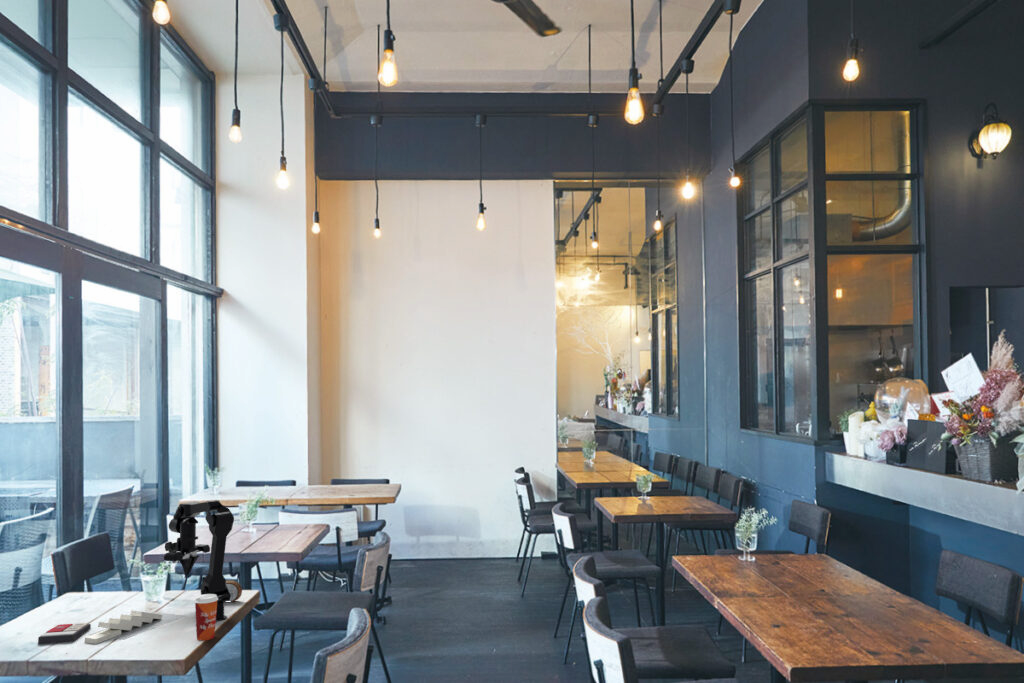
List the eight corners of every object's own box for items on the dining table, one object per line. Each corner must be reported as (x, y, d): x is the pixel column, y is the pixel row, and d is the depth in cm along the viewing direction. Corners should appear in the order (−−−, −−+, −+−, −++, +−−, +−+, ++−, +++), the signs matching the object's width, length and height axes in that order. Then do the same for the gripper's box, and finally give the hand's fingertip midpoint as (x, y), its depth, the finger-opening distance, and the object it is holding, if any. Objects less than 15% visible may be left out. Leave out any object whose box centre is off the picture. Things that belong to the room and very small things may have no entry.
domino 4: (142, 617, 266) (121, 614, 257) (153, 618, 264) (132, 615, 255) (141, 621, 265) (119, 619, 256) (151, 622, 263) (130, 620, 255)
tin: (242, 601, 294) (242, 579, 295) (238, 603, 291) (238, 581, 292) (207, 600, 296) (207, 579, 296) (203, 602, 293) (203, 581, 293)
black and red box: (91, 621, 258) (73, 632, 244) (90, 634, 258) (73, 645, 243) (57, 623, 257) (37, 634, 242) (57, 636, 256) (37, 648, 241)
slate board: (152, 614, 277) (153, 612, 277) (186, 618, 271) (186, 615, 272) (88, 638, 250) (88, 635, 250) (123, 642, 245) (123, 639, 245)
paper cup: (202, 643, 243) (203, 600, 244) (188, 639, 247) (189, 597, 248) (222, 636, 250) (223, 595, 251) (209, 632, 254) (209, 592, 255)
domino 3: (131, 620, 261) (109, 617, 253) (142, 621, 259) (120, 619, 251) (130, 625, 260) (108, 622, 252) (140, 626, 259) (119, 624, 250)
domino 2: (121, 624, 257) (99, 621, 248) (132, 625, 255) (110, 623, 247) (120, 629, 256) (97, 626, 248) (131, 630, 255) (108, 628, 246)
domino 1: (110, 628, 252) (84, 637, 243) (121, 629, 251) (96, 638, 241) (110, 632, 252) (84, 642, 243) (121, 634, 251) (96, 643, 241)
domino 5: (152, 613, 270) (131, 610, 261) (162, 614, 268) (142, 611, 259) (150, 618, 269) (130, 615, 260) (161, 619, 267) (140, 616, 259)
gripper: (189, 529, 298) (188, 568, 297) (153, 538, 280) (152, 579, 279) (211, 530, 294) (210, 569, 293) (175, 539, 277) (175, 581, 275)
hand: (187, 574), depth 285 cm, fingers closed
